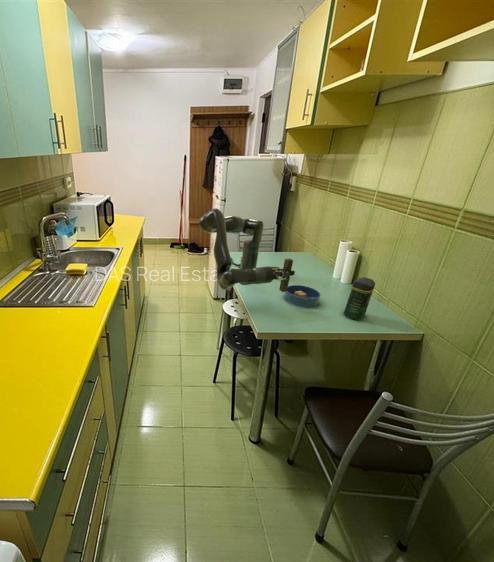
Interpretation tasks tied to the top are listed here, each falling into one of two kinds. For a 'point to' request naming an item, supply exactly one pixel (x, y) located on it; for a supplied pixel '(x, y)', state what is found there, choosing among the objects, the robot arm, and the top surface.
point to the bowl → (309, 301)
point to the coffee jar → (359, 298)
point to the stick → (286, 267)
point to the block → (300, 294)
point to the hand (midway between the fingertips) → (291, 271)
